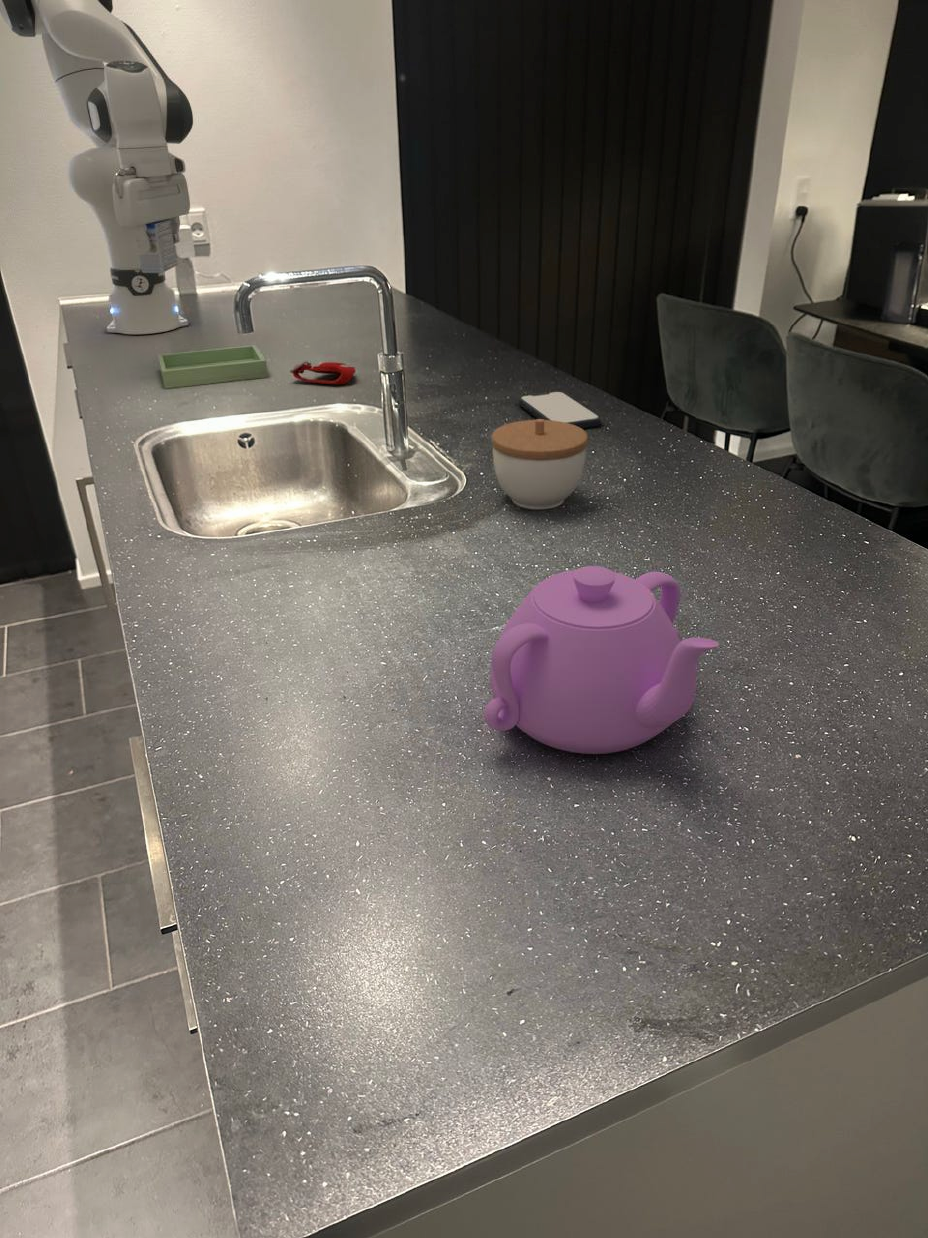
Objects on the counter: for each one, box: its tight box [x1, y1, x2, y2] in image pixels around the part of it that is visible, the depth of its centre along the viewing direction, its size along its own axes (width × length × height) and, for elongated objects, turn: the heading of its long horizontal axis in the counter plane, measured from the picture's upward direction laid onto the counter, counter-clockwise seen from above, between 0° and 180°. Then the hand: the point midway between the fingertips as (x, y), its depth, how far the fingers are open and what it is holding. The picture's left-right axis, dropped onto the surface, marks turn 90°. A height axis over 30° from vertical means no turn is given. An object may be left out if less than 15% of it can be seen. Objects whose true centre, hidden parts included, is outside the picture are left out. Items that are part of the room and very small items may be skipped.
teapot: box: [483, 565, 720, 755], centre depth 76 cm, size 22×22×14 cm
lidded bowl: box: [491, 418, 589, 510], centre depth 120 cm, size 13×13×11 cm
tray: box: [157, 344, 269, 389], centre depth 180 cm, size 14×20×3 cm
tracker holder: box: [289, 360, 356, 386], centre depth 174 cm, size 12×4×10 cm
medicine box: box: [135, 219, 178, 273], centre depth 171 cm, size 8×4×9 cm, turn 176°
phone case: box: [518, 391, 601, 430], centre depth 153 cm, size 9×2×16 cm
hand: (161, 246), depth 171 cm, fingers closed on medicine box, 8 cm apart
